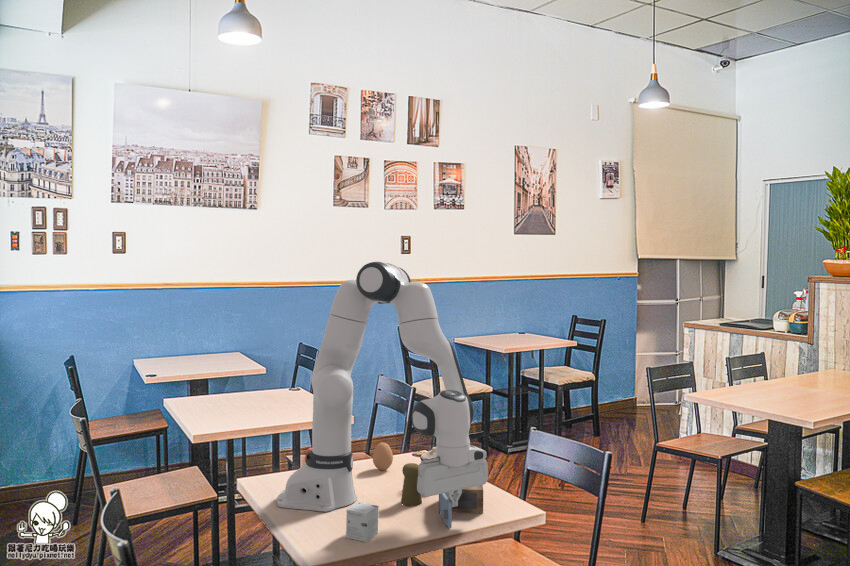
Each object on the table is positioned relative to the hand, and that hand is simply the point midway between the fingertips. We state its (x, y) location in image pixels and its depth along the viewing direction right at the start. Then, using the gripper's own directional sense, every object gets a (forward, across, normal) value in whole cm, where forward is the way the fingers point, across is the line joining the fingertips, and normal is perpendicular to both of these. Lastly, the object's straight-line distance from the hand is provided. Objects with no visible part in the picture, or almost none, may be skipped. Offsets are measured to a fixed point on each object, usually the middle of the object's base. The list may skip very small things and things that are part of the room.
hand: (453, 506), depth 172 cm
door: (+4, -1, +3) cm, 6 cm away
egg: (+5, +4, +48) cm, 49 cm away
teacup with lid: (+5, +12, +29) cm, 32 cm away
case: (+5, +9, +9) cm, 14 cm away
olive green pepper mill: (+5, -2, +19) cm, 20 cm away
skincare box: (+5, -24, +6) cm, 25 cm away
